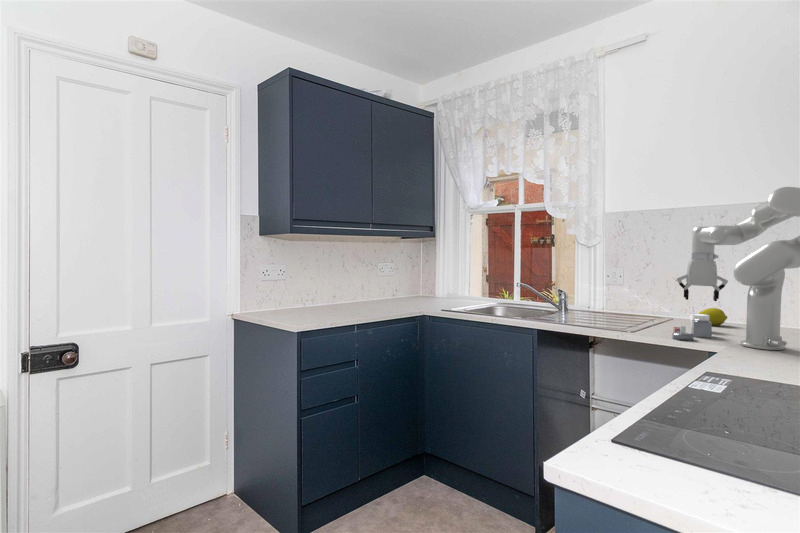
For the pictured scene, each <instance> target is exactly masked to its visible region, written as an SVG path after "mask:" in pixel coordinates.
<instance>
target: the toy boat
mask: <svg viewBox="0 0 800 533" xmlns="http://www.w3.org/2000/svg"><path fill="white" fill-rule="evenodd" d="M672 328H673V331H672V336H671V338H672V339H673V340H675V341H676V340H677V341H681V342H683V341H685V342H690V341H689V340H693V341H694V338H695V337H694V335H693V334H691V333H689V332H687V329H686V328H687V327H686V325H680V326H673V327H672Z"/></svg>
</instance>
